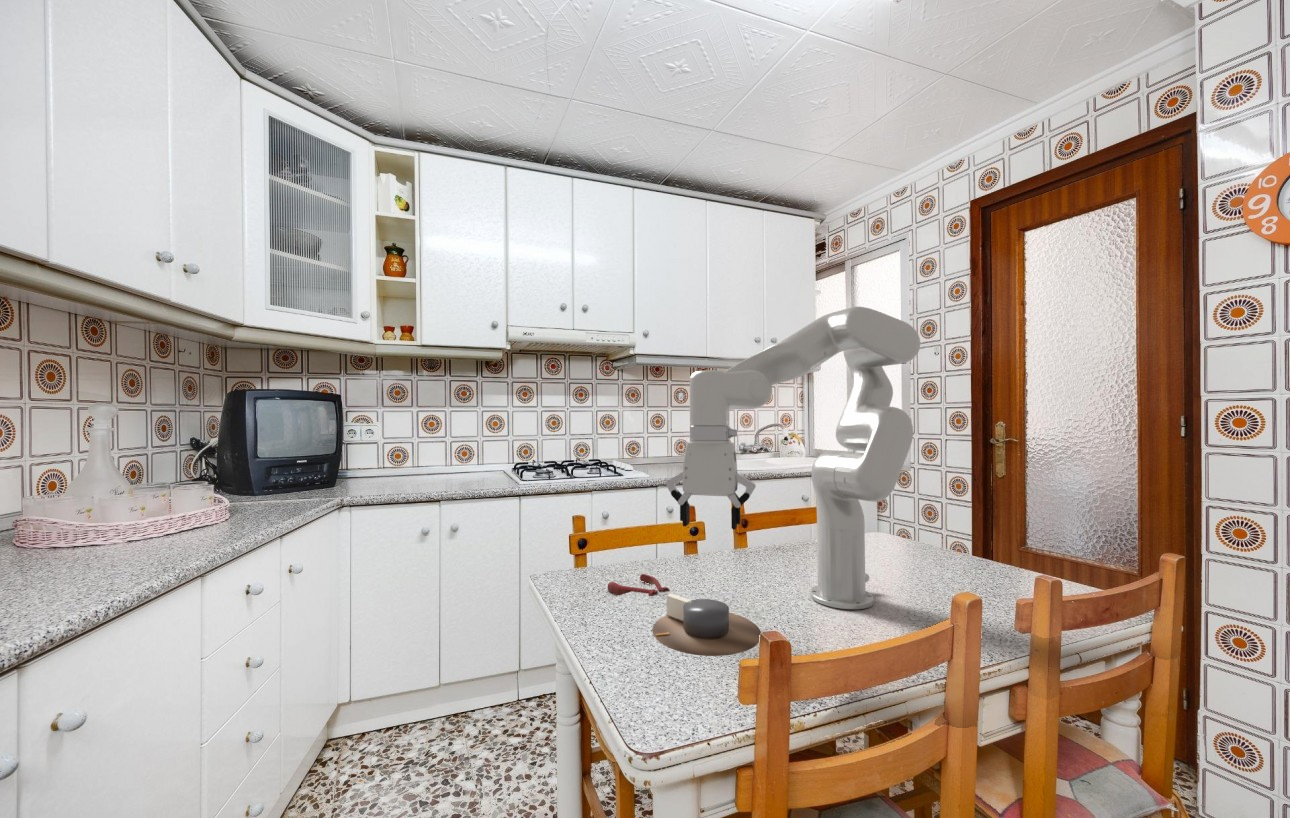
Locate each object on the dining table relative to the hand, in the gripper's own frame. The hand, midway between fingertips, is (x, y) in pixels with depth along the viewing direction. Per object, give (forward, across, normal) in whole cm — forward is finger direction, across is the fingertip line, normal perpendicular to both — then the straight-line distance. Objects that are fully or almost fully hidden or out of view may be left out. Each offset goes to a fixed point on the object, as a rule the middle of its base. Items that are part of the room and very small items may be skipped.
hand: (709, 526), depth 94 cm
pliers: (+19, +16, -10) cm, 27 cm away
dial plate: (+18, 0, +6) cm, 19 cm away
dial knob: (+16, +2, +5) cm, 17 cm away
